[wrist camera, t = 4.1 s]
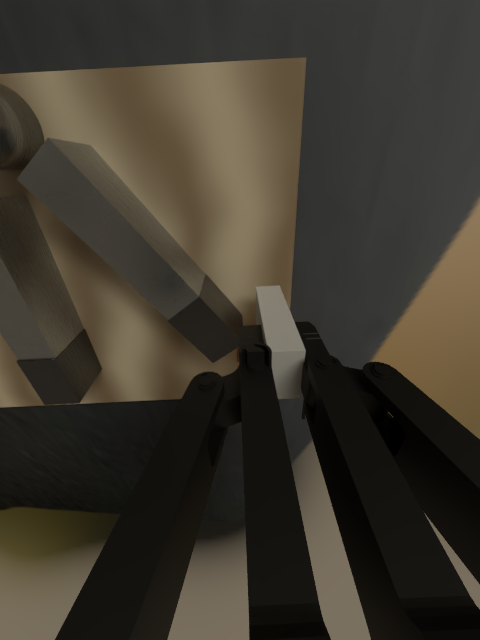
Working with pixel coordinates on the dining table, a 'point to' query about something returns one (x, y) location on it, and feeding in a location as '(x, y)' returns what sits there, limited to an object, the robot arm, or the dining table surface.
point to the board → (171, 203)
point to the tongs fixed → (36, 279)
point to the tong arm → (132, 243)
